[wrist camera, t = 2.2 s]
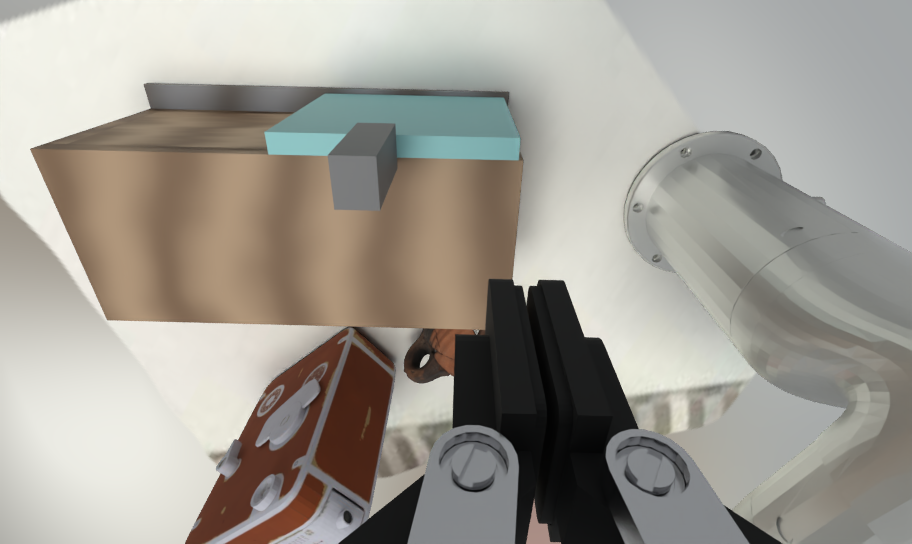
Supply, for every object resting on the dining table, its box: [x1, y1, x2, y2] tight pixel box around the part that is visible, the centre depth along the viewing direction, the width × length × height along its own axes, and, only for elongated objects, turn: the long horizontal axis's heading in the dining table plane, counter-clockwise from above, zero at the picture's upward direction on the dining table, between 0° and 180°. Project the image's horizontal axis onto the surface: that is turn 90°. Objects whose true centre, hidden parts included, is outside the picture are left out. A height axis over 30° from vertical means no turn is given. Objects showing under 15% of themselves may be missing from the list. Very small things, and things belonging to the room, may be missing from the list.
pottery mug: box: [404, 328, 485, 383], centre depth 45 cm, size 12×10×8 cm
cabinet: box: [30, 83, 523, 330], centre depth 34 cm, size 28×14×12 cm, turn 89°
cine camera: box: [185, 327, 396, 544], centre depth 42 cm, size 9×19×20 cm, turn 129°
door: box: [264, 93, 521, 211], centre depth 27 cm, size 14×2×18 cm, turn 89°
